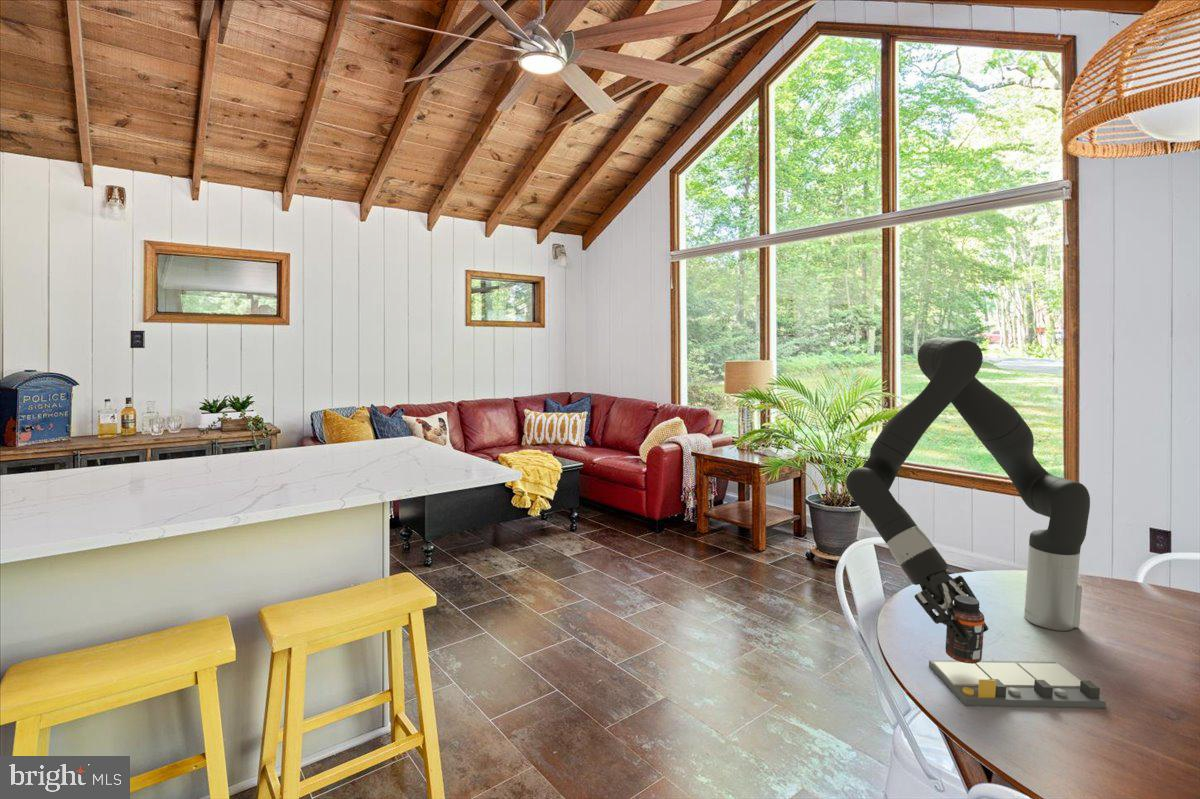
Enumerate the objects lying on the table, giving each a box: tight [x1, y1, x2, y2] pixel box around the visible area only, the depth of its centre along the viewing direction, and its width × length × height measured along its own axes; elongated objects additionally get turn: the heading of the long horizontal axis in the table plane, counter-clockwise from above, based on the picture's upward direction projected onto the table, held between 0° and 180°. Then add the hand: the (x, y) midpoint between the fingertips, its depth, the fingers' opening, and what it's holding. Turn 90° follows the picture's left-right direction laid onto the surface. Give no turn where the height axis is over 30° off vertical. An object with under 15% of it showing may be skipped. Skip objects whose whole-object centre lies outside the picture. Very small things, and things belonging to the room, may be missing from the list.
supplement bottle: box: [945, 595, 985, 664], centre depth 114 cm, size 6×6×11 cm
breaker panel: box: [928, 659, 1107, 709], centre depth 113 cm, size 24×13×4 cm, turn 87°
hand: (974, 636), depth 113 cm, fingers closed on supplement bottle, 6 cm apart
